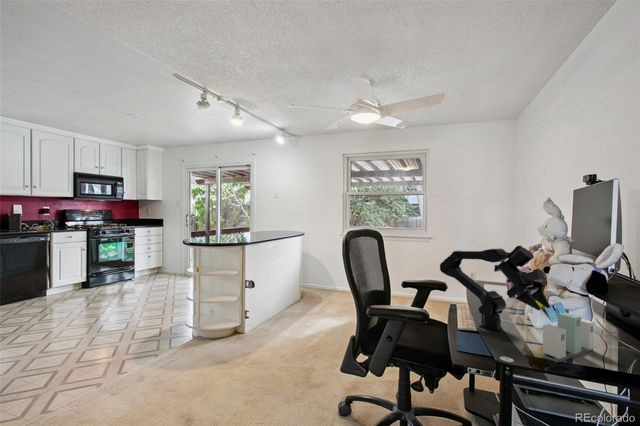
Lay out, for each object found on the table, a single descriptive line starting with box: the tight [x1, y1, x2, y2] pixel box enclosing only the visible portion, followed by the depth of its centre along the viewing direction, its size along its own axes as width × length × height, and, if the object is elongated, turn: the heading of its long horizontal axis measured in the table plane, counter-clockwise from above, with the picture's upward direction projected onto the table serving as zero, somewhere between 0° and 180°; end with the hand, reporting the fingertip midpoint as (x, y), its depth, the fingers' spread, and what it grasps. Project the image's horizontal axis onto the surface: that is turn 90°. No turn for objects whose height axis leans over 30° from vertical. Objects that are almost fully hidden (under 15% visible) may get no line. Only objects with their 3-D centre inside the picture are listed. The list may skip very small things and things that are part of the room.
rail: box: [543, 347, 594, 363], centre depth 105 cm, size 4×23×1 cm, turn 115°
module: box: [557, 312, 582, 354], centre depth 105 cm, size 5×4×12 cm
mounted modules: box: [542, 318, 595, 359], centre depth 105 cm, size 5×22×9 cm, turn 116°
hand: (544, 308), depth 112 cm, fingers open, 6 cm apart
